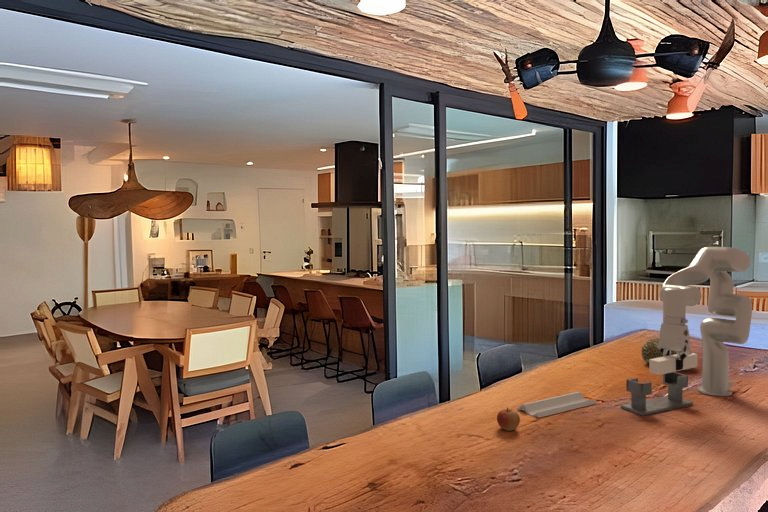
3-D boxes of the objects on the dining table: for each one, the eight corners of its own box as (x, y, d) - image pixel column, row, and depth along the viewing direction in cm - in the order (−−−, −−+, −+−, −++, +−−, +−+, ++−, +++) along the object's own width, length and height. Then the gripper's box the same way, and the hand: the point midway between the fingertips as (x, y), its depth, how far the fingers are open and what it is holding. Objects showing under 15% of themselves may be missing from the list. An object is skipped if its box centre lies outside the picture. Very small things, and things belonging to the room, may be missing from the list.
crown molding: (538, 420, 205) (538, 410, 205) (516, 411, 216) (516, 402, 215) (595, 405, 220) (595, 396, 220) (572, 397, 231) (572, 389, 231)
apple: (507, 435, 189) (507, 412, 189) (492, 427, 196) (492, 405, 196) (524, 431, 193) (525, 408, 192) (509, 423, 200) (509, 402, 199)
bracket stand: (670, 397, 227) (671, 370, 226) (693, 404, 218) (693, 376, 217) (620, 407, 215) (621, 378, 215) (642, 415, 206) (642, 385, 206)
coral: (695, 368, 277) (697, 339, 277) (687, 374, 263) (690, 343, 263) (646, 359, 292) (648, 332, 292) (636, 364, 278) (638, 335, 278)
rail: (687, 364, 216) (687, 351, 216) (697, 366, 213) (697, 354, 212) (649, 372, 207) (649, 359, 206) (658, 375, 203) (658, 361, 203)
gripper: (701, 322, 203) (700, 372, 204) (661, 316, 218) (660, 362, 219) (688, 324, 199) (687, 374, 200) (648, 318, 214) (647, 364, 215)
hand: (673, 367), depth 210 cm, fingers closed on rail, 4 cm apart
